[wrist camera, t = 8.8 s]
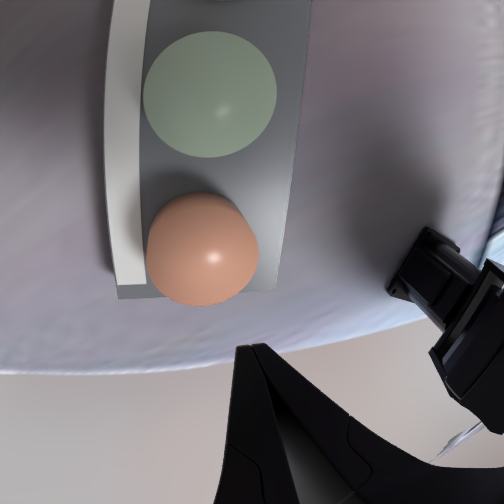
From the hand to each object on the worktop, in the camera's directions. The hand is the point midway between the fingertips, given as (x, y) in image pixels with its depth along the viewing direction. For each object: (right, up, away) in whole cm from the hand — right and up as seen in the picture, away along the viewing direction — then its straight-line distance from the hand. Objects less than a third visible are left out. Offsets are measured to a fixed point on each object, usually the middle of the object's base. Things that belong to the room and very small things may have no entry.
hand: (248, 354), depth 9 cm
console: (-2, +11, +5) cm, 12 cm away
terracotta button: (-2, +3, +7) cm, 8 cm away
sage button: (-2, +10, +3) cm, 10 cm away
